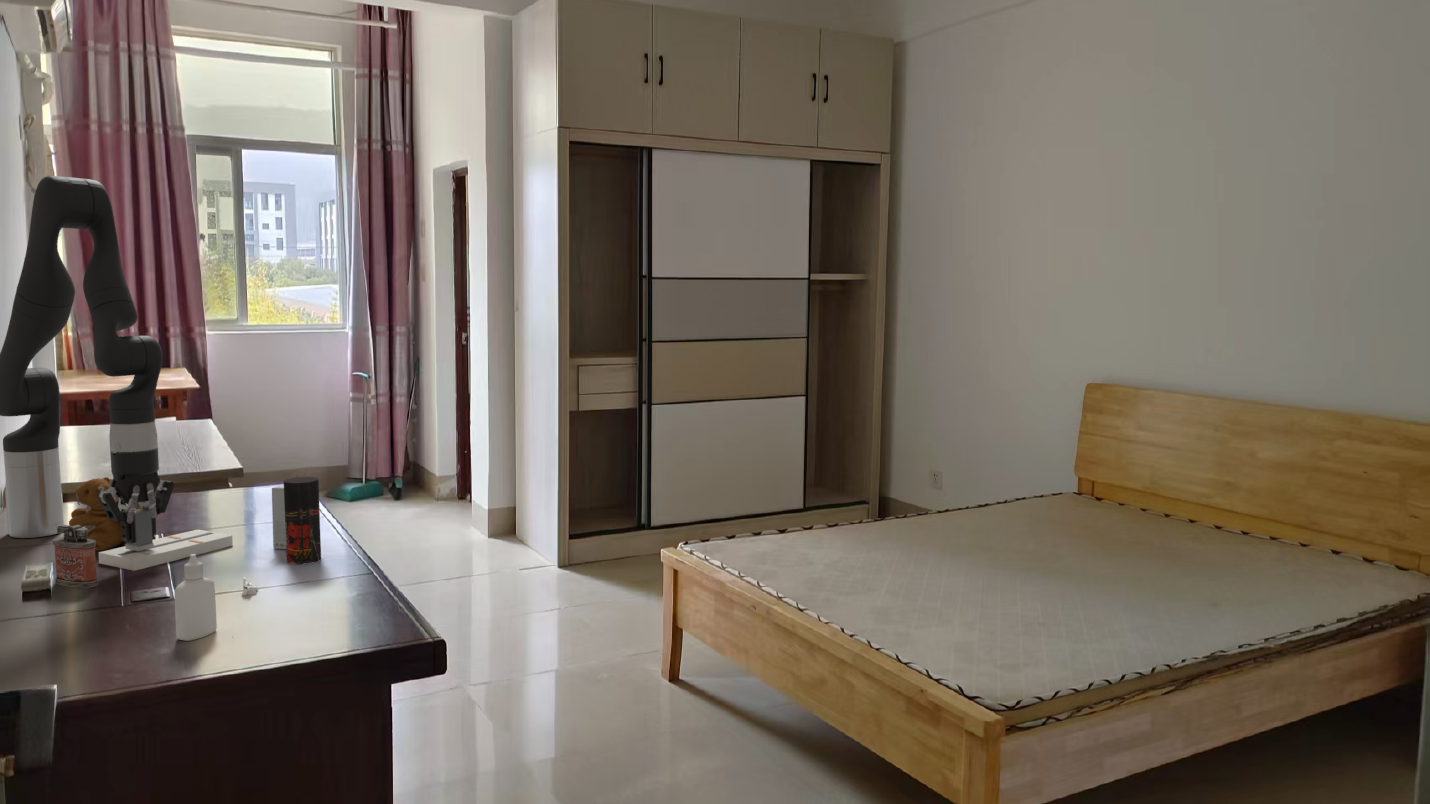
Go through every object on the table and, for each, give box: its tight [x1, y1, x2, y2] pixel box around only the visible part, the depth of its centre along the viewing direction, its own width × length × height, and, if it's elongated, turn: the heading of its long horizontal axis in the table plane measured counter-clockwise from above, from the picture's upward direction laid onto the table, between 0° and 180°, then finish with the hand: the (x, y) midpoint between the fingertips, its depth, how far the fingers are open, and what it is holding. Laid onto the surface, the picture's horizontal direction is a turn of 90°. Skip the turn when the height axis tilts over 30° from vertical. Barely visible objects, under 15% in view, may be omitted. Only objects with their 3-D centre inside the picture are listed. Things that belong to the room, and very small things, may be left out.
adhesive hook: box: [241, 576, 259, 597], centre depth 170 cm, size 3×3×3 cm
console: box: [98, 529, 234, 572], centre depth 193 cm, size 10×20×2 cm, turn 153°
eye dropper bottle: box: [173, 554, 218, 642], centre depth 149 cm, size 4×6×12 cm
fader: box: [124, 509, 154, 551], centre depth 188 cm, size 4×3×7 cm
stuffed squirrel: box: [68, 476, 141, 552], centre depth 199 cm, size 10×14×13 cm
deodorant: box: [283, 476, 322, 565], centre depth 189 cm, size 6×6×15 cm
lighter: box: [52, 524, 99, 589], centre depth 174 cm, size 8×3×10 cm, turn 71°
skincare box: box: [271, 483, 286, 550], centre depth 199 cm, size 6×4×12 cm
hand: (139, 540), depth 188 cm, fingers closed on fader, 3 cm apart
